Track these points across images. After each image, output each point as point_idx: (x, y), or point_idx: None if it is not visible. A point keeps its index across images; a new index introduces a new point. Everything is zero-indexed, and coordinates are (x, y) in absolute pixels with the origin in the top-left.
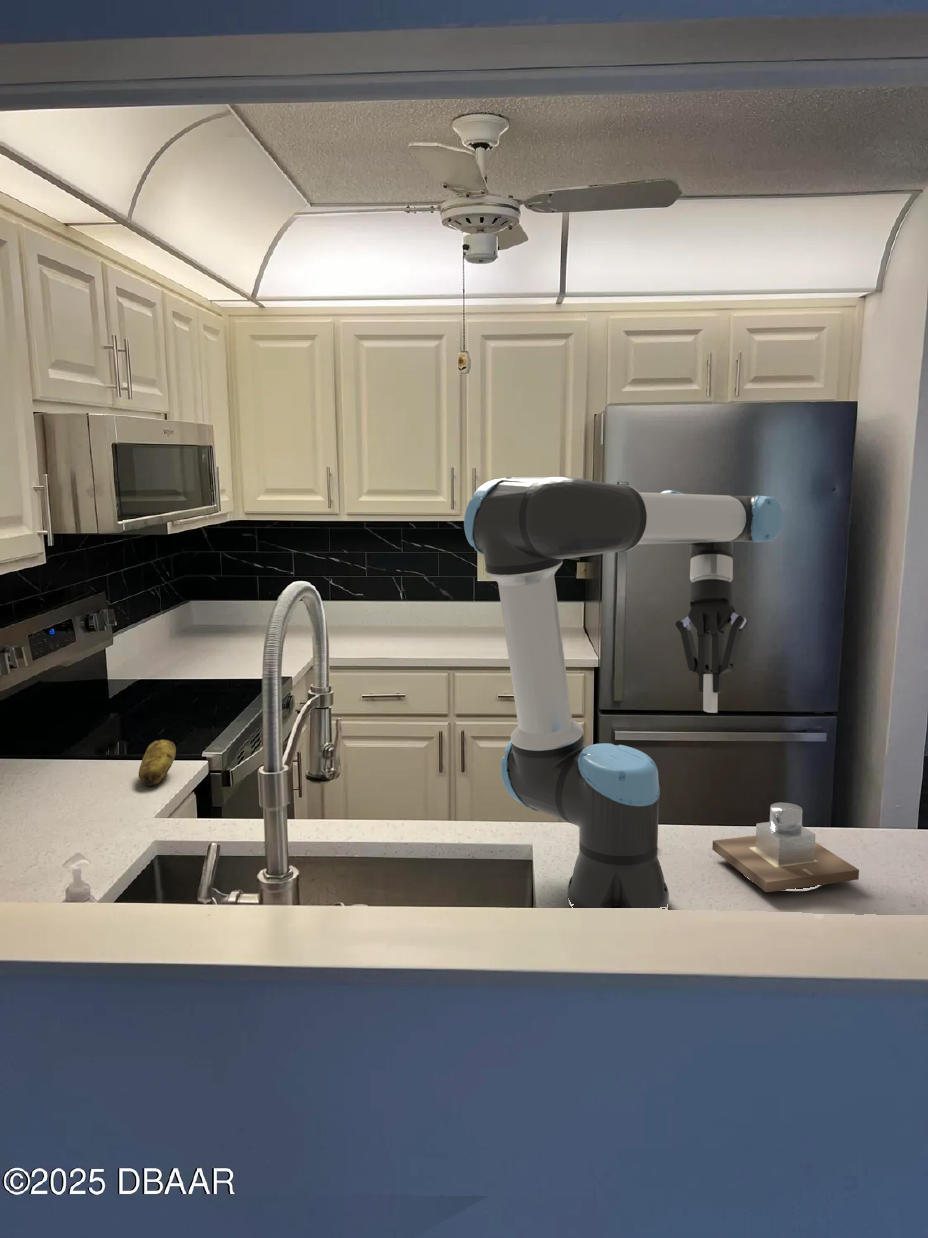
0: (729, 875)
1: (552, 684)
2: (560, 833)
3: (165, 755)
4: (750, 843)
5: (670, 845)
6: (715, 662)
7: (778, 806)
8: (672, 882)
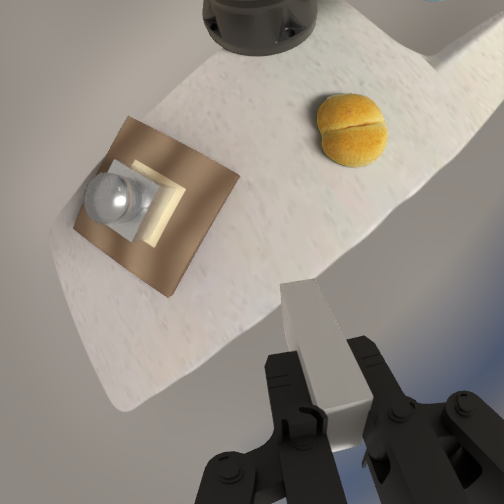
0: (199, 149)
1: None
2: (440, 116)
3: None
4: (191, 205)
5: (312, 177)
6: (308, 486)
7: (113, 194)
8: (243, 84)
